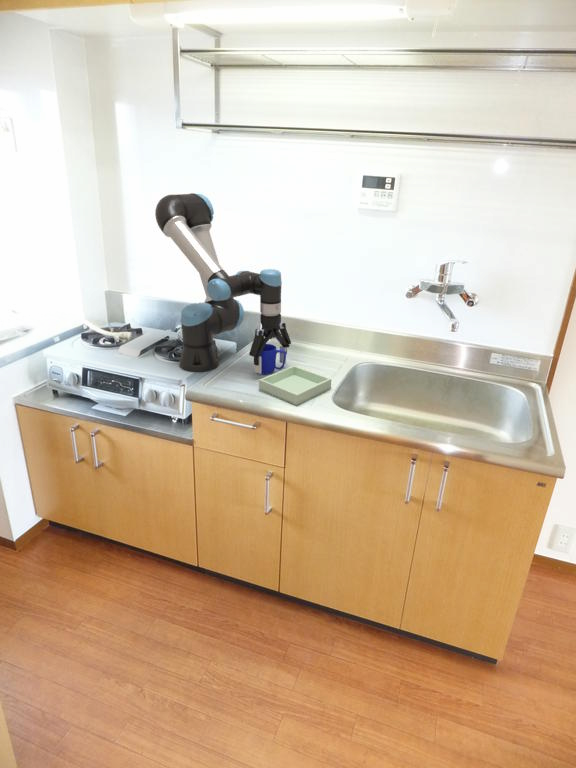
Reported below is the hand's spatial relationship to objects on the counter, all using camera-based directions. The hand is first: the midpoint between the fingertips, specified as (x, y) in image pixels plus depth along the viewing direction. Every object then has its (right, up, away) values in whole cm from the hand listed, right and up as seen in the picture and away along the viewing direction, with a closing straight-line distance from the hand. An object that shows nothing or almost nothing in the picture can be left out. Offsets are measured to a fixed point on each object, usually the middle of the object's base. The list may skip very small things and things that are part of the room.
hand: (270, 367), depth 191 cm
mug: (0, -2, +1) cm, 2 cm away
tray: (+9, -8, -13) cm, 18 cm away
